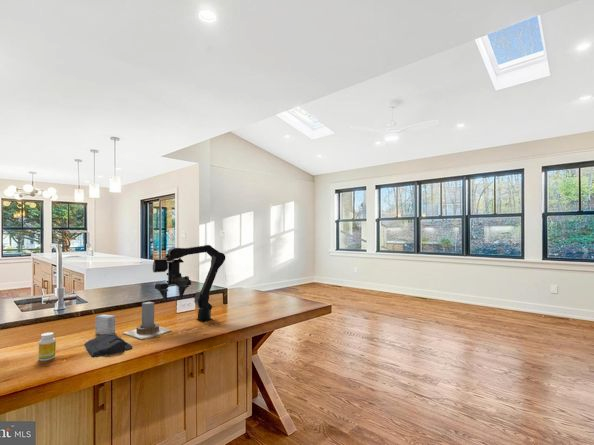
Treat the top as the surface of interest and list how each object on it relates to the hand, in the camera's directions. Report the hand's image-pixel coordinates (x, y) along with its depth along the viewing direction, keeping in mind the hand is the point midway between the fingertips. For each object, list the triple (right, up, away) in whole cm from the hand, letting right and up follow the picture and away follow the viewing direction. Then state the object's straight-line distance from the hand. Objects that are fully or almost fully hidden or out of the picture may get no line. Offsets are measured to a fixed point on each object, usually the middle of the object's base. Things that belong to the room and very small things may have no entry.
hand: (173, 300), depth 174 cm
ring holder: (-8, -13, -13) cm, 20 cm away
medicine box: (-27, -13, -15) cm, 34 cm away
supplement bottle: (-33, -12, -46) cm, 58 cm away
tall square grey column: (-8, -12, -13) cm, 19 cm away
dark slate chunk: (-16, -13, -33) cm, 39 cm away
